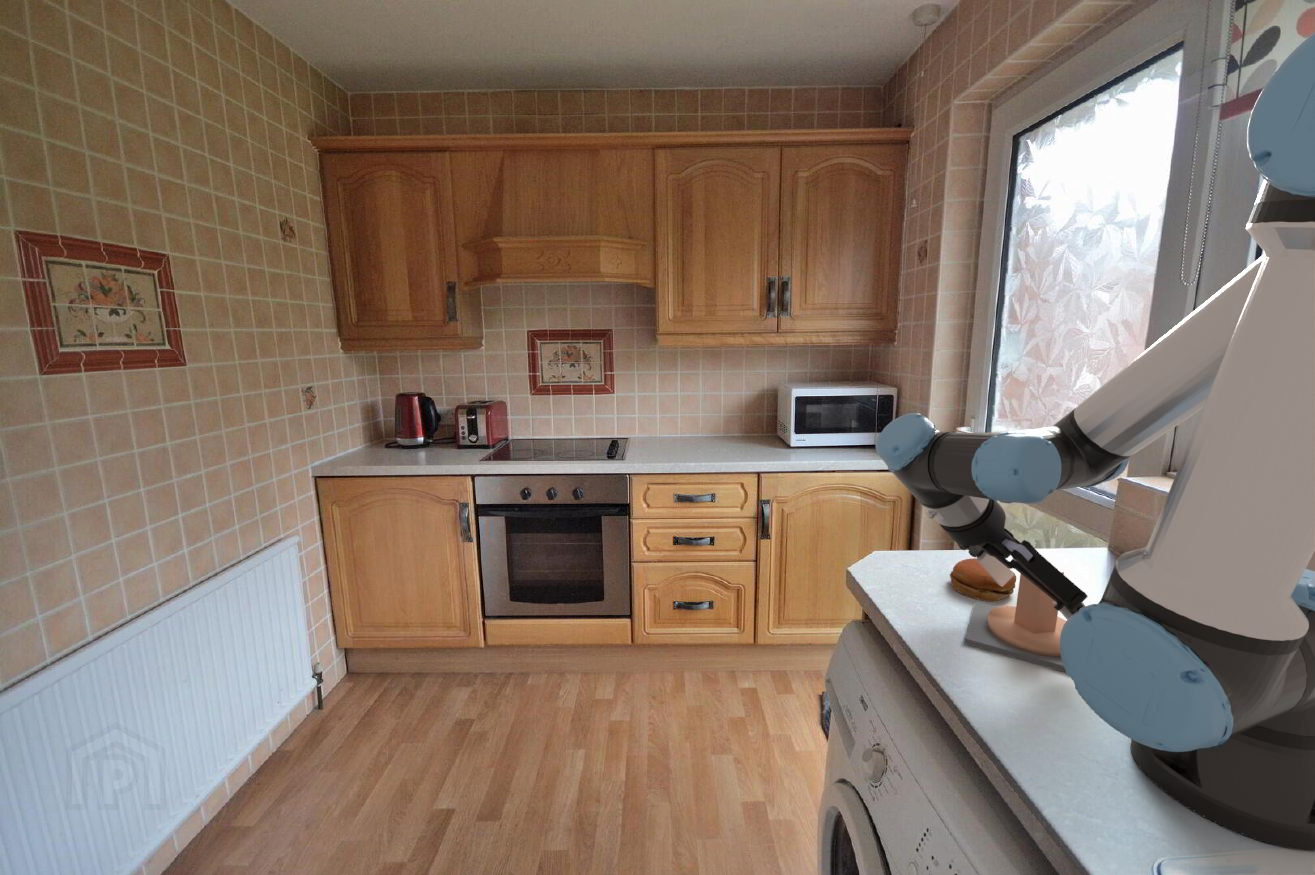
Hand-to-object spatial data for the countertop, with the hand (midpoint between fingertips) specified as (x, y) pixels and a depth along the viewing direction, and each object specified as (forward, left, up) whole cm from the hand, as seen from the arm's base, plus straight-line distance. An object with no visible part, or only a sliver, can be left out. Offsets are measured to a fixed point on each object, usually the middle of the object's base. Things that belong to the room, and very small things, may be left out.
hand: (1043, 600), depth 82 cm
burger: (+12, +9, -6) cm, 16 cm away
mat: (-2, +2, -6) cm, 6 cm away
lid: (-1, +1, -5) cm, 5 cm away
